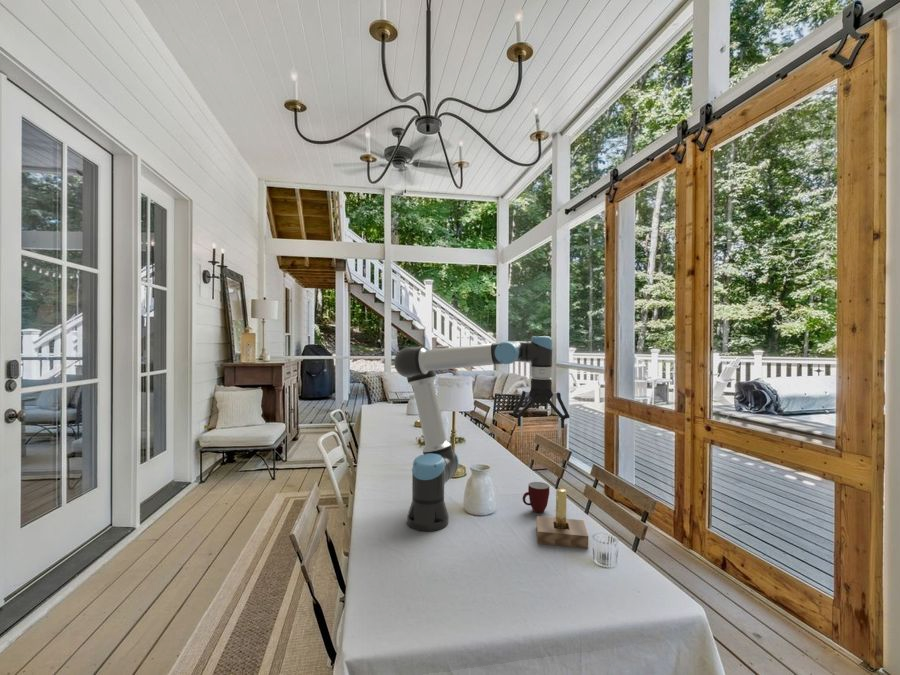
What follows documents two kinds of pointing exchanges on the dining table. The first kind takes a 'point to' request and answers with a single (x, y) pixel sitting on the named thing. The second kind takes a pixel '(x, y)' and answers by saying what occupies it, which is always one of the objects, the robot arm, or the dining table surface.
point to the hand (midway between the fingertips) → (540, 436)
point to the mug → (537, 496)
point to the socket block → (562, 533)
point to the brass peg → (561, 508)
